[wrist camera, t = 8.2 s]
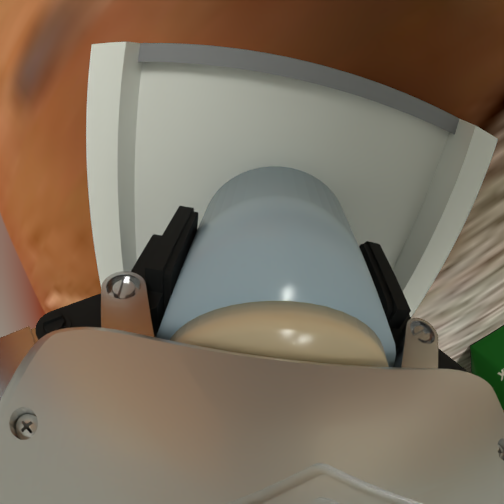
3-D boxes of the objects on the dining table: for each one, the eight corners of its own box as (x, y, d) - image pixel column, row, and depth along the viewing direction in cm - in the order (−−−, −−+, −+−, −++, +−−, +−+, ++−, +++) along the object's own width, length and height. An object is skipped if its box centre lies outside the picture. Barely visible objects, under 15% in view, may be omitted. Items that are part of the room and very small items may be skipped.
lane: (119, 45, 10) (83, 44, 7) (469, 125, 11) (506, 143, 8) (132, 353, 22) (121, 384, 19) (335, 384, 22) (339, 416, 20)
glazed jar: (211, 153, 11) (129, 288, 5) (365, 186, 12) (454, 336, 5) (197, 278, 15) (155, 428, 8) (321, 299, 15) (339, 448, 9)
